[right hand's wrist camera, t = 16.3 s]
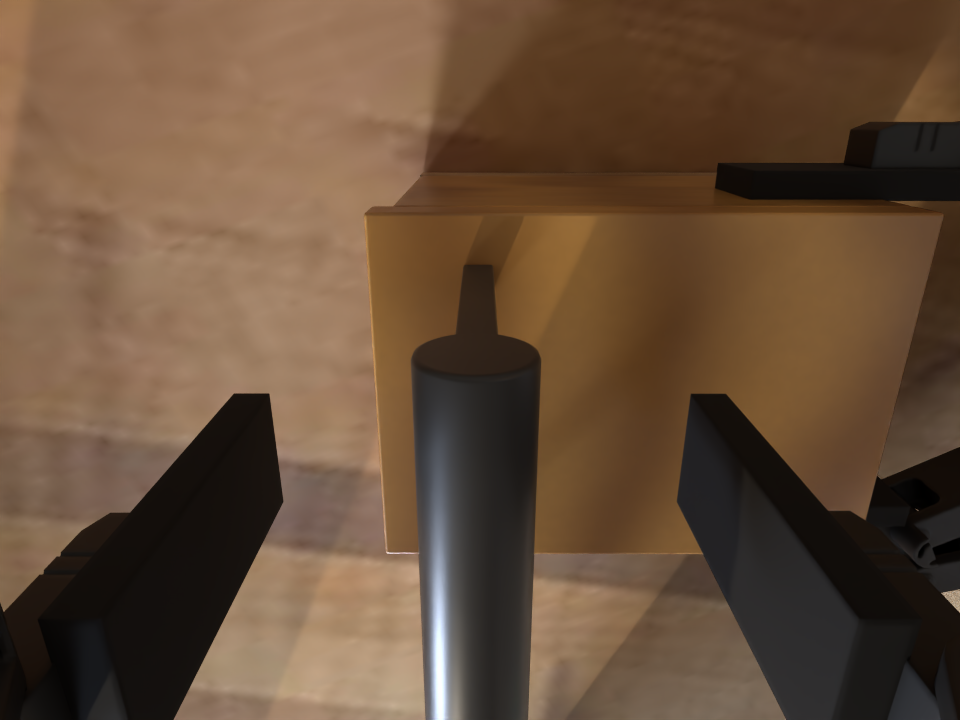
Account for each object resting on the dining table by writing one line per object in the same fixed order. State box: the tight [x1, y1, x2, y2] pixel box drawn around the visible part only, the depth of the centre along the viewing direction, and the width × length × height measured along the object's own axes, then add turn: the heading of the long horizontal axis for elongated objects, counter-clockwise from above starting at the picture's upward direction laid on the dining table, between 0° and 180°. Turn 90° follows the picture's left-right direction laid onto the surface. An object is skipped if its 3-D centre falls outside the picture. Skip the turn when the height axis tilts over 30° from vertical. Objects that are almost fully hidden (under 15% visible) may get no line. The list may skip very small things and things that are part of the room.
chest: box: [393, 172, 911, 207], centre depth 22 cm, size 13×10×9 cm
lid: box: [364, 207, 944, 720], centre depth 13 cm, size 13×10×8 cm
